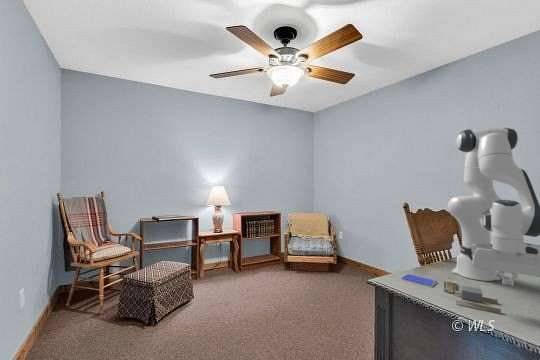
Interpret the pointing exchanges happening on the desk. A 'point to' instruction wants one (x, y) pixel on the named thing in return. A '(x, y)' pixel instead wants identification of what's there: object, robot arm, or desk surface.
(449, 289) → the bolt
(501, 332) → the desk surface
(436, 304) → the desk surface
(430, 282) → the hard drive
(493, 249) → the robot arm
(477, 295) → the block
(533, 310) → the desk surface
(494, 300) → the cradle
